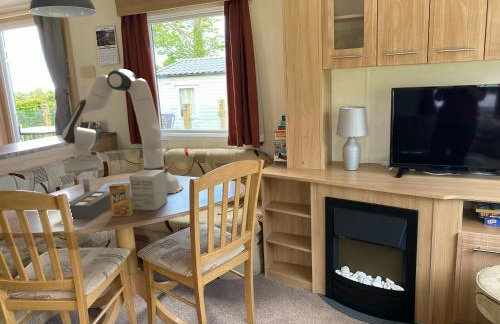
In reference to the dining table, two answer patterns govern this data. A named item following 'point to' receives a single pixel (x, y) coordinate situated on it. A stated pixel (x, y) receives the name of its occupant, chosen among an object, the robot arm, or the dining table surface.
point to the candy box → (120, 199)
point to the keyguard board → (90, 205)
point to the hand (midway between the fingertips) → (85, 177)
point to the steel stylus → (86, 185)
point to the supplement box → (148, 189)
